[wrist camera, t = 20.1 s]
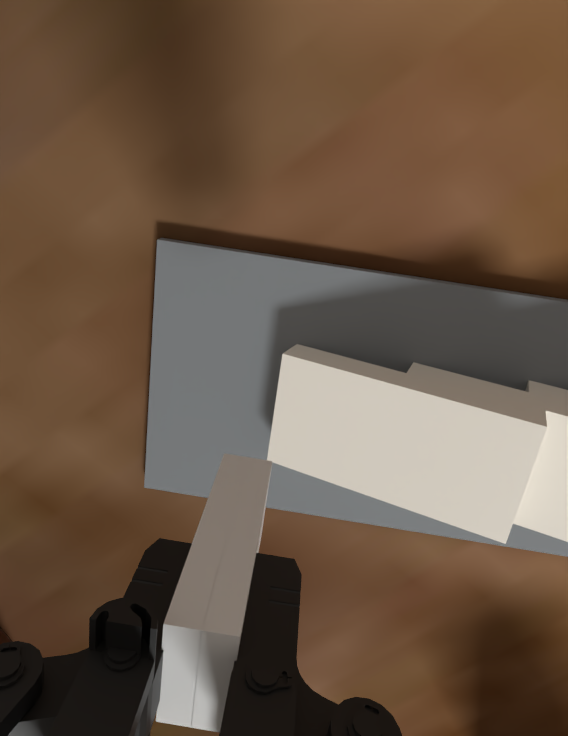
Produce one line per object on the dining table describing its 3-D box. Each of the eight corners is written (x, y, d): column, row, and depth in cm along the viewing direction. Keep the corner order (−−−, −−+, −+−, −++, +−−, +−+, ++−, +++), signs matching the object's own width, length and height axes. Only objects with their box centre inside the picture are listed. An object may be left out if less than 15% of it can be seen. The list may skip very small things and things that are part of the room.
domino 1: (266, 460, 24) (505, 543, 20) (282, 353, 22) (546, 426, 19) (281, 445, 25) (507, 521, 22) (297, 343, 23) (545, 410, 20)
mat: (148, 480, 27) (144, 487, 26) (161, 237, 23) (157, 239, 22) (837, 592, 26) (848, 602, 26) (987, 364, 22) (1004, 369, 21)
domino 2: (381, 479, 23) (639, 566, 20) (406, 373, 22) (694, 450, 18) (389, 463, 25) (631, 541, 22) (413, 362, 23) (682, 432, 20)
